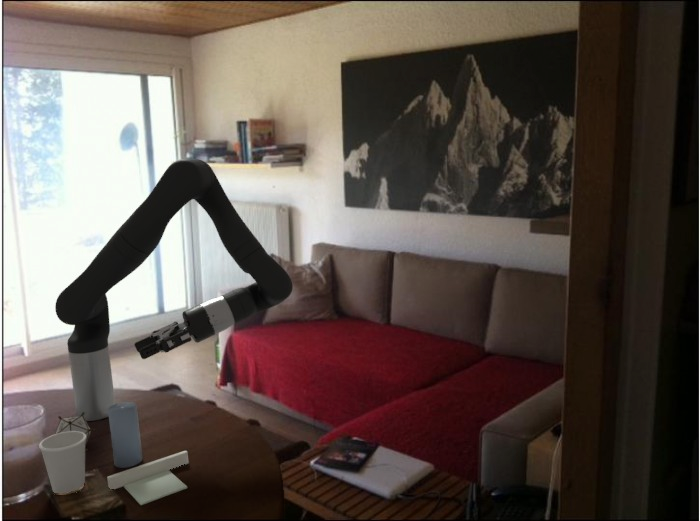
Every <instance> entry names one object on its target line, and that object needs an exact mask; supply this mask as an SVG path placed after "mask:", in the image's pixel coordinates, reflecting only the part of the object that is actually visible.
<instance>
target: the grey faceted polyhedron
mask: <svg viewBox="0 0 700 521" xmlns="http://www.w3.org/2000/svg"><path fill="white" fill-rule="evenodd" d="M83 415H84V412H83V413H82V415H80V416H77V415H75V416H68V417H61V415H58V416H57V417H58V419H59V422H58V425H57V427H56V429H55V432H54V434H57V433H62V432H67V431H79V432H83V433H84V434H85V435H86V439H85V451H86V452H87V451H88V448H87V444H88V442H89V438H90V436H91V432H94V431H95V428H91V427H90V425H89V424H88V421H86V420H85V419H84V417H83Z"/></svg>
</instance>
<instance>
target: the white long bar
mask: <svg viewBox="0 0 700 521" xmlns="http://www.w3.org/2000/svg"><path fill="white" fill-rule="evenodd" d="M188 454H189V452H188V451H187V450H183V451H180V452H176V453H174V454H171V455H168V456H164V457H161V458H158V459H156V460H153V461H150V462H146V463H144V464H140V465H139V466H135V467H132V468H129V469H126V470H123V471H120V472H117V473H113V474H111V475H109V476H107V477H106V480H107V487H109V488H110V489H114V490H116V489H120V488H122V487H124V486H125V485H127V484H130V483H133V482H136V481H139V480H142V479H145V478H148V477H150V476H153V475H156V474H159V473H162V472H165V471H168V470H169V471H171V470H174V469H177V468H179V466H180V467H182V466H181V465H183V466H185V465H188V464H190V463H189V455H188ZM184 464H185V465H184ZM176 467H177V468H176ZM173 468H174V469H173ZM170 469H171V470H170Z"/></svg>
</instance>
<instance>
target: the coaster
mask: <svg viewBox="0 0 700 521" xmlns="http://www.w3.org/2000/svg"><path fill="white" fill-rule="evenodd" d="M123 488H124V489H125V490H126V491H127V492H128V493H129V494H130V495H131V496H132V498H133V499H134V500H135V501H136V502H137V503H138V504H139V505H140V506H143V505H146V504H149V503H151V502H154V501H157V500H159V499H162V498H164V497H167V496H170V495H172V494H175V493H178V492H181V491H183V490H186V489H188V486H187V485H186V484H185V483H184V482H182V481H181V479H179V478H178V477H177V476H176V475H175V474H174V473H172V471H171V470H168V471H165V472H162V473H159V474H156V475H153V476H150V477H148V478H145V479H142V480H139V481H136V482H133V483H130V484H127V485H125V486H123Z"/></svg>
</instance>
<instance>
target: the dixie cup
mask: <svg viewBox="0 0 700 521" xmlns="http://www.w3.org/2000/svg"><path fill="white" fill-rule="evenodd" d="M85 439H86V435H85V434H84V433H83V432H79V431H67V432H62V433H57V434H55V433H54V434H52V435H50V436H47V437H45V438H44V439H42V440H41V441H40V443H39V444H38V447H39V450H40V452H41V453H42V457H43V461H44V464H45V465H44V466H45V467H46V468H45V469H46V471H47V475H48V479H49V482H50V485H51V486H50V487H51V489H52V492H54V493H60V494H62V493H69V492H71V491H75V490H77V489H79V488H80V487H82V486H83V485H84V483H85V484H86V450H85ZM54 493H53V494H54Z"/></svg>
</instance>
